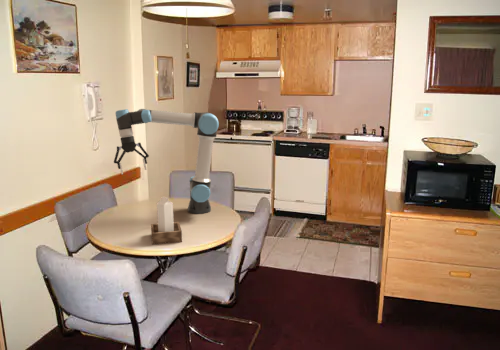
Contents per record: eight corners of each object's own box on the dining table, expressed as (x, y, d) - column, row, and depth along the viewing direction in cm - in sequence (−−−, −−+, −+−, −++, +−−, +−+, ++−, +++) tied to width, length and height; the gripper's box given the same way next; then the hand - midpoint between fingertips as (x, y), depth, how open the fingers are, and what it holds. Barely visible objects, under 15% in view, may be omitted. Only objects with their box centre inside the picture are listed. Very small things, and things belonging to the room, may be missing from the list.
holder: (179, 232, 238) (179, 222, 237) (181, 242, 223) (181, 231, 222) (151, 234, 234) (150, 224, 233) (152, 244, 220) (151, 233, 218)
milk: (167, 233, 233) (165, 194, 228) (174, 236, 229) (172, 196, 224) (158, 236, 228) (156, 197, 224) (165, 239, 224) (163, 199, 220)
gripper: (147, 132, 254) (154, 167, 258) (104, 139, 246) (112, 175, 249) (149, 132, 247) (156, 168, 251) (104, 140, 239) (112, 176, 242)
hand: (134, 171), depth 250 cm, fingers open, 13 cm apart
